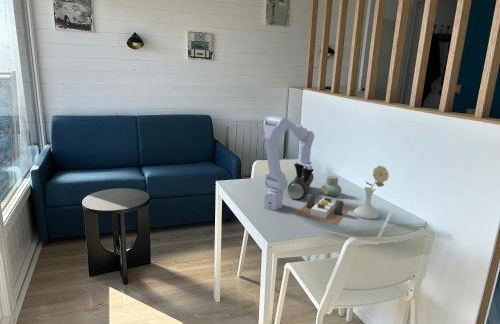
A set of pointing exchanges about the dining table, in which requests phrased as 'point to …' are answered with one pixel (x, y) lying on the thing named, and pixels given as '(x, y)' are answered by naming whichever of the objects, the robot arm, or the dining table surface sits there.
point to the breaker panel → (330, 217)
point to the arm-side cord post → (310, 201)
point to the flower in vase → (367, 209)
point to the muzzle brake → (299, 187)
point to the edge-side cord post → (338, 207)
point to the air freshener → (331, 186)
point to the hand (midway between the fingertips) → (302, 179)
